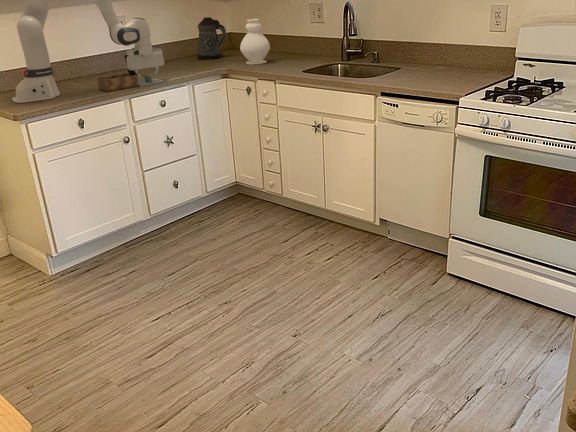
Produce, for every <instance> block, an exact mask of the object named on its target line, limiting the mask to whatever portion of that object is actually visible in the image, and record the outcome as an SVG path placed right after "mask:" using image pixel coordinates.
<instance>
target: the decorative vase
mask: <svg viewBox="0 0 576 432" xmlns="http://www.w3.org/2000/svg"><path fill="white" fill-rule="evenodd" d="M259 21H260V19H259V18H250V19H249V18H248V19H246V22H247V23H246V25H245V29H246V30H247V31H248V32H247V33H246V34H245V36H244V37H243V39H242V40H241V42H240V45H239V50H240V52H241V54H242V55H243V56H244V57H245V58H246V59H247V61H246V62H245V64H246V65H260V64H262V65H263V64H266V63H267V60H265V58H266V56H267V55H268V54H269V52H270V49H271V45H270V42H269V40H268V38H267V37H266V36H265V35H264V34H263V33H262V32H261V31H260V30H261V29H262V27H263V26H262V24H261V23H260V22H259Z"/></svg>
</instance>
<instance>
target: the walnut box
mask: <svg viewBox="0 0 576 432" xmlns="http://www.w3.org/2000/svg"><path fill="white" fill-rule="evenodd" d="M96 81H97V85H98V90H99V91H102V92H104V93H105V92H106V93H112V92H116V91H123V90H129V89H133V88H135V89H136V88H139V87H140V86H138V82H139V81H138V77H137V75H133V76H129V73H128V72H124V73H119V74H114V75H107V76H106V75H105V76H100V77H97V78H96Z"/></svg>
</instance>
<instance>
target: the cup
mask: <svg viewBox="0 0 576 432" xmlns="http://www.w3.org/2000/svg"><path fill="white" fill-rule="evenodd" d="M127 56H128V55H127V54H125V55H124V60H125V64H126V66H127V61H126V59H127ZM126 69H127V73H129V76H133V75H137V74H136V73H135V71H134V70H132V71H131V70H128V68H127V67H126ZM138 73H139V74H140V71H139V72H138Z"/></svg>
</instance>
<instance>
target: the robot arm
mask: <svg viewBox="0 0 576 432" xmlns="http://www.w3.org/2000/svg"><path fill="white" fill-rule="evenodd" d="M52 1H53V0H24V3H23V6H22V9H21V13H20V17H19V19H18V21H17V23H16V30H17V35H18V37H19V42H20V45H21V48H22V51H23V52H22V53H23V55H24V59H25V64H26V65H25V66H26V69H25V70H24V69H21V70H20V73H21V75H24V78H23V79H22V80H21V81H20V82H19V84H17V85H16V86H15V96H13V97H12V98H11V99H12V102H13V103H17V104H23V103H31V102H39V101H45V100H52V99H54V98H56V97H59V96H60V95H61V93H60V91H59V89H58V86H57V84H56V80H55V73H54V69H53V66H52V65H51V59H50V55H49V50H48V47H47V43H46V38H45V35H44V27H45V25H46V21H47V17H48V14H49V11H50V8H51V5H52V4H51V3H52ZM92 2H93V3H94V4H95V6H96V8H97V9H98V10H99V11H100V13H101V15H102V17H103V19H104V21H105V23H106V25H107V27H108V31H109V37H110V39H111V41H112V42H113V43H115V44H116V45H121V46H123V47H124V46H125V47H126V46H131V45H134V47H131V48H130V49H128V50H126V55H128V56H127V59H126V61H127V65H126V69H127V68H128V69H127V71H128V70H131V71H132V70H134V71H135V73H136V74H137V79H142V74H140V70H143V69H144V70H145V69H150V68H154V69H155V70H154V71H153V76H158V71H159V67H162V66H164V65H165V59H164V53H163V50H162V48H160V47H156V48H153V44H152V41H151V30H150V25H149V22H148V21H147V19H145V18H141V17H133V18H132V19H130V20H129V21H128V22H126V23H125V24H122V23H121V22H120V19H119V17H118V15H117V13H116V12H115V9H114V8H113V0H92ZM126 61H125V62H126ZM138 72H139V73H138Z"/></svg>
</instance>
